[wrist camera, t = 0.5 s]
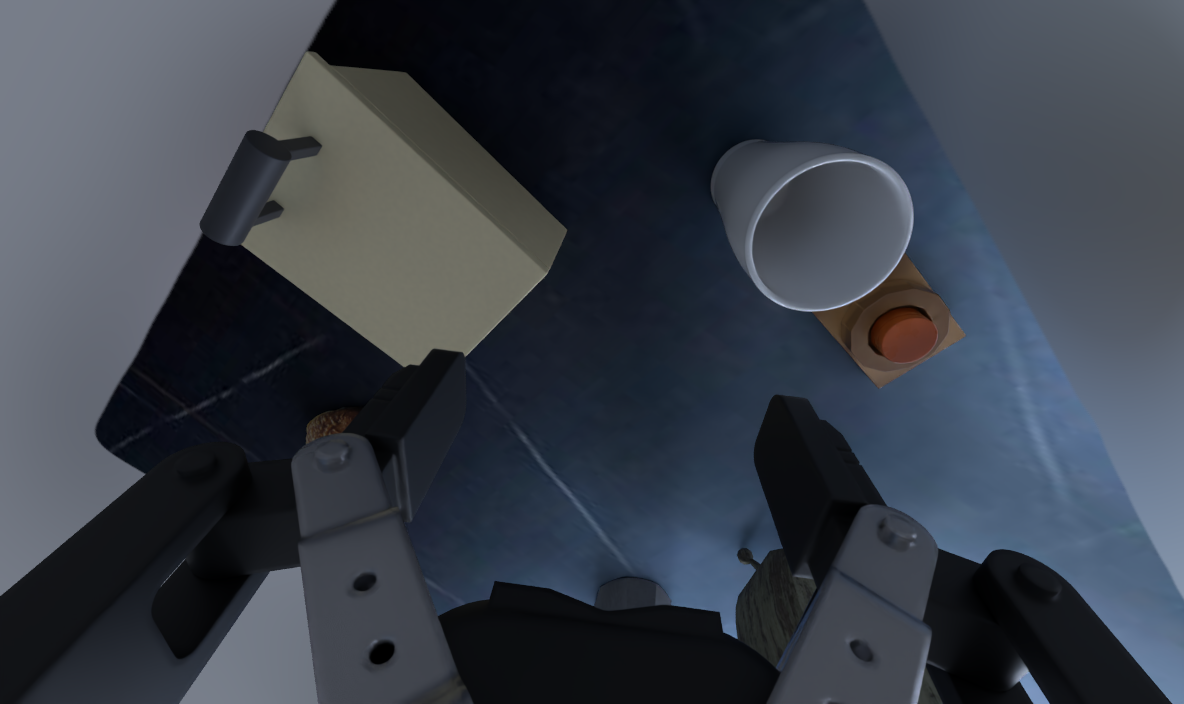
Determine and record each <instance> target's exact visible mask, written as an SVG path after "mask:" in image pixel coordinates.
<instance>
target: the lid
mask: <svg viewBox="0 0 1184 704" xmlns="http://www.w3.org/2000/svg"><path fill="white" fill-rule="evenodd" d="M200 228H201V230H202V232H203V233H204V234H205V235H206V236H207V237H209V238H210V239H212V240H214V241H216V242H218V243H221V244H224V245H229V246H237V245H240V244H241V245H243V246H244V247H245V248H247V249H248V250H249V251H251V252H252V253H253V254H255V255H256V256H257V257H259V258H260V259H261V260H262V261H264V262H265V263H266V264H268V265H269V266H270V267H272V268H273V269H274V270H276V271H277V272H278V273H280V274H281V275H282V276H284V277H285V278H286V279H288V280H289V281H290V282H292V283H293V284H294V285H296V286H297V287H298V288H300V289H301V290H302V291H304V292H305V293H306V294H308V295H309V296H310V297H312V298H313V299H314V300H316V301H317V302H318V303H320V304H321V305H322V306H324V307H325V308H326V309H328V310H329V311H330V312H332V313H333V314H334V315H336V316H337V317H338V318H340V319H341V320H342V321H344V322H345V323H346V324H348V325H349V326H350V327H352V328H353V329H354V330H356V331H357V332H358V333H360V334H361V335H362V336H364V337H365V338H366V339H368V340H369V341H370V342H372V343H373V344H374V345H376V346H377V347H378V348H380V349H381V350H382V351H384V352H385V353H386V354H388V355H389V356H390V357H392V358H393V359H394V360H396V361H397V362H398V363H400V364H401V365H402V366H404V367H406V366H408V365H410V364H412V365H420V364H421V362H422V361H423V360H424V359H425V357H426V356H427V355H428V354H429V352H430V351H431V350H432V349H434V348H436V349H443V350H451V351H458V352H463V353H464V356H465V357H466V356H467V355H468V354H469V353H470V352H471V351H472V350H473V349H474V348H475V347H476V346H477V345H478V344H479V342H480V341H481V340H482V339H483V338H484V337H485V336H486V335H487V334H488V333H489V332H490V331H491V330H492V329H493V328H494V327H495V326H496V325H497V324H498V323H499V322H500V321H501V320H502V319H503V318H504V317H505V316H506V315H507V314H508V313H509V312H510V311H511V310H512V309H513V308H514V307H515V306H516V305H517V304H518V303H519V302H520V301H521V300H522V299H523V298H524V297H525V296H526V295H527V294H528V293H529V292H530V291H531V290H532V289H533V288H534V287H535V286H536V285H537V284H538V283H539V282H540V281H541V280H542V279H543V278H544V277H545V276H546V275H547V273H548V271H549V269H548V268H547V267H546V266H545V265H544V264H543V263H542V262H541V261H540V260H539V259H538V258H537V257H536V256H534V255H533V254H532V253H531V252H530V251H529V250H528V249H527V248H526V247H525V246H524V245H523V244H522V243H520V242H519V241H518V240H517V239H516V238H515V237H514V236H513V235H512V234H511V233H510V232H509V231H508V230H506V229H505V228H504V227H503V226H502V225H501V224H500V223H499V222H498V221H497V220H496V219H495V218H494V217H492V216H491V215H490V214H489V213H488V212H487V211H486V210H485V209H484V208H483V207H482V206H481V205H480V204H478V203H477V202H476V201H475V200H474V199H473V198H472V197H471V196H470V195H469V194H468V193H467V192H466V191H464V190H463V189H462V188H461V187H460V186H459V185H458V184H457V183H456V182H455V181H454V180H453V179H452V178H450V177H449V176H448V175H447V174H446V173H445V172H444V171H443V170H442V169H441V168H440V167H439V166H438V165H436V164H435V163H434V162H433V161H432V160H431V159H430V158H429V157H428V156H427V155H426V154H425V153H424V152H422V151H421V150H420V149H419V148H418V147H417V146H416V145H415V144H414V143H413V142H412V141H411V140H410V139H408V138H407V137H406V136H405V135H404V134H403V133H402V132H401V131H400V130H399V129H398V128H397V127H396V126H394V125H393V124H392V123H391V122H390V121H389V120H388V119H387V118H386V117H385V116H384V115H383V114H382V113H380V112H379V111H378V110H377V109H376V108H375V107H374V106H373V105H372V104H371V103H370V102H369V101H368V100H366V99H365V98H364V97H363V96H362V95H361V94H360V93H359V92H358V91H357V90H356V89H355V88H354V87H352V86H351V85H350V84H349V83H348V82H347V81H346V80H345V79H344V78H343V77H342V76H341V75H340V74H338V73H337V72H336V71H335V70H334V69H333V68H332V67H331V66H330V65H329V64H328V63H327V62H326V61H324V60H323V59H322V58H321V57H320V56H319V55H318V54H317V53H315V52H309V51H307V52H306V53H305V54H304V56H303V58H302V60H301V62H300V64H299V66H298V68H297V69H296V71H295V73H294V75H293V77H292V79H291V81H290V83H289V84H288V86H287V88H286V90H285V92H284V94H283V96H282V98H281V100H280V101H279V103H278V105H277V107H276V109H275V111H274V113H273V115H272V116H271V118H270V120H269V122H268V124H267V126H266V128H265V130H264V131H263V132H260V131H256V130H250V131H248V132H247V133H246V134H245V136H244V138H243V140H242V142H241V144H240V146H239V147H238V150H237V152H236V153H235V155H234V157H233V159H232V161H231V163H230V165H229V167H228V170H227V171H226V173H225V175H224V177H223V179H222V181H221V183H220V184H219V186H218V188H217V190H216V192H215V194H214V196H213V198H212V200H211V202H210V204H209V206H208V208H207V210H206V212H205V214H204V216H203V218H202V220H201V221H200Z"/></svg>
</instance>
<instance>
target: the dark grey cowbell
mask: <svg viewBox="0 0 1184 704" xmlns="http://www.w3.org/2000/svg"><path fill="white" fill-rule="evenodd" d="M737 556H738V559H739V561H740V562H741V563H743V564H751V565H752V566H753V567H754V568H755V569H756V572H755V573H754V574H753V576H752V577H751V579H750V580H749V582H748V583H747V584H746V586H745V587H744V589H743V590H742V591H741V593H740V594H739V596H738V600H737V604H736V629H737V637H738V640H740V641H742V642H743V643H745V644H746V645H748V646H749V647H751V648H752V649H754V650H755V651H757V652H758V653H759V654H761V655H762V656H763V657H764V658H766V659H767V660H768V661H769V662H770V663H771V664H772V665H773V666H774V667H775V668H776V666H777V664H778V663H779V661H780V659H781V657H782V655H783V653H784V651H785V649H786V647H787V645H788V643H789V641H790V639H791V637H792V635H793V633H794V631H795V629H796V627H797V625H798V623H799V621H800V619H801V617H802V615H803V613H804V611H805V609H806V607H807V605H808V603H809V601H810V599H811V597H812V595H813V593H814V591H815V590H816V588H817V587H816V585H815V582H814V579H808V578H801V577H793V576H792V573H791V570H790V568H789V565H788V562H787V559H786V556H785V553H784V550H783V549H778V550H773V551H770V552H769V553H768V555H767V556H766V557H765V559H764V560H763V562H762V563H761V564H759V563H758V562H756V561H755V560H753V555H752V552H751V551H750V550H748V549H747V548H741V549H740V550H739V551H738V554H737ZM917 704H943V703H942V701H941V698H940V696H939V694H938V692H937V690H936V688H935V686H934V683H933V681H932V679H931V677H930V675H929V673H928V670H927V668H926V666H925V670H924V674H923V679H922V684H921V689H920V693H919V698H918V703H917Z"/></svg>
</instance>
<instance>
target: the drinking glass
mask: <svg viewBox="0 0 1184 704" xmlns="http://www.w3.org/2000/svg"><path fill="white" fill-rule="evenodd" d="M711 194H712V198H713V201H714V203H715V205H716V207H717V208H718V210H719V213H720V216H721V219H722V222H723V226H724V229H725V232H726V235H727V238H728V241H729V244H730V246H731V249H732V251H733V253H734V255H735V257H736V259H737V260H738V262H739V263H740V265H741V267H742V268H743V270H744V271H745V272H746V274H747V275H748V276H749V278H750V279H751V280H752V281H753V282H754V284H755V285H756V286H757V287H758V289H759V290H760V291H761V292H762V293H763V294H764V295H765V296H767V297H768V298H769V299H770V300H772V301H774V302H775V303H777V304H779V305H781V306H784V307H787V308H790V309H794V310H799V311H809V312H813V311H825V310H831V309H835V308H838V307H842V306H844V305H847V304H850V303H852V302H854V301H856V300H858V299H860V298H862V297H863V296H865V295H866V294H868V293H869V292H871V291H872V290H874V289H875V288H876V287H877V286H879V285H880V284H881V283H882V282H883V281H884V280H885V279H886V278H887V277H888V276H889V275H890V274H891V272H892V271H893V270H894V269H895V267H896V266H897V264H898V263H899V261H900V260H901V258H902V256H903V255H904V252H905V250H906V248H907V246H908V243H909V240H910V237H911V233H912V228H913V218H914V214H913V204H912V199H911V196H910V193H909V190H908V188H907V186H906V184H905V183H904V181H903V180H902V178H901V177H900V176H899V175H898V173H897V172H896V171H894V170H893V169H892V168H891V167H890V166H888V165H887V164H886V163H884V162H882V161H880V160H878V159H876V158H873V157H871V156H868V155H866V154H863V153H861V152H858V151H855V150H852V149H849V148H846V147H842V146H838V145H834V144H828V143H822V142H807V141H789V142H771V141H767V140H762V139H753V140H747V141H744V142H741V143H739V144H737V145H735V146H733V147H732V148H731V149H729V150H728V151H727V152H726V153H725V154H724V155H723V156H722V157H721V158H720V160H719V161H718V163H717V165H716V166H715V169H714V171H713V174H712V178H711Z"/></svg>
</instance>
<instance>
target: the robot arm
mask: <svg viewBox="0 0 1184 704" xmlns="http://www.w3.org/2000/svg"><path fill="white" fill-rule="evenodd" d="M465 410H466V371H465V356H464V353H463V352H458V351H451V350H443V349H436V348H434V349H432V350H431V351H430V352H429V354H428V355H427V356H426V357H425V359H424V360H423V361H422V362H421V364H420V365H412V364H410V365H408V366H406V367H404V368H402V369H401V370H399V371H397V372H395V373H393V374H392V375H391V376H390V378H389V379H388V380H387V381H386V382H385V383H384V385H383V386H382V389H381V388H380V389H379V390H378V391H377V393H376V394H375V395H374V397H373V399H371V400H370V401H369V402H368V403H367V404H366V405H365V406H364V408H363V409H362V410H361V411H360V412H359V413H358V415H357V416H356V417H355V418H354V419H353V420H352V421H351V423H350V424H349V425H348V426H347V427H346V428H345V430H344V431H343V432H342V433H337V434H331V435H326V436H323V437H320V438H318V439H315V440H313V441H311V442H309V443H308V444H306V445H305V446H303V447H302V448H301V449H300V450H299V451H298V452H297V453H296V454H295V456H294V457H293V458H292V459H283V460H272V461H262V462H251V463H248V462H247V459H246V456H245V453H244V451H243V449H242V448H241V447H239V446H238V445H236V444H232V443H228V442H210V443H204V444H199V445H195V446H192V447H189V448H186V449H183V450H181V451H179V452H177V453H175V454H172V455H171V456H169V457H167V458H166V459H164V460H163V461H161V462H160V463H159V464H158V465H156V466H155V467H154V468H153V469H152V470H150V471H149V472H148V473H147V474H146V475H144V476H143V477H142V478H141V479H140V480H138V481H137V482H136V483H135V484H134V485H133V486H131V487H130V488H129V489H128V490H127V491H125V492H124V493H123V494H122V495H121V496H120V497H118V498H117V499H116V500H115V501H113V502H112V503H111V504H110V505H109V506H108V507H106V508H105V509H104V510H103V511H102V512H100V513H99V514H98V515H97V516H96V517H95V518H93V519H92V520H91V521H90V522H89V523H87V524H86V525H85V526H84V527H82V528H81V529H80V530H79V531H78V532H76V533H75V534H74V535H73V536H72V537H71V538H69V539H68V540H67V541H66V542H65V543H63V544H62V545H61V546H60V547H59V548H57V549H56V550H55V551H54V552H53V553H51V554H50V555H49V556H48V557H47V558H46V559H44V560H43V561H42V562H41V563H39V564H38V565H37V566H36V567H35V568H34V569H33V570H31V571H30V572H29V573H28V574H26V575H25V576H24V577H23V578H22V579H20V580H19V581H18V582H17V583H16V584H14V585H13V586H12V587H11V588H10V589H8V591H6V592H5V593H4V594H3V595H1V596H0V704H179V703H180V701H181V700H182V698H183V697H184V696H185V694H186V693H187V691H188V690H189V688H190V687H191V685H192V684H193V682H194V681H195V680H196V678H197V677H198V675H199V674H200V672H201V671H202V669H203V668H204V666H205V665H206V664H207V662H208V661H209V659H210V658H211V656H212V655H213V653H214V652H215V651H216V649H217V648H218V646H219V645H220V643H221V642H222V640H223V639H224V637H225V636H226V635H227V633H228V632H229V630H230V629H231V627H232V626H233V624H234V623H235V622H236V620H237V619H238V617H239V616H240V614H241V613H242V611H243V610H244V608H245V607H246V605H247V604H248V602H249V601H250V600H251V598H252V597H253V595H254V594H255V593H256V591H257V590H258V588H259V587H260V585H261V584H262V582H263V581H264V579H265V578H266V577H267V575H268V574H269V572H270V571H275V570H281V569H287V568H294V567H301V572H302V580H303V588H304V596H305V604H306V611H307V620H308V627H309V634H310V642H311V651H312V657H313V666H314V674H315V682H316V690H317V697H318V704H917V703H918V698H919V693H920V689H921V684H922V679H923V674H924V670H925V666H926V668H927V670H928V673H929V675H930V677H931V679H932V681H933V683H934V686H935V688H936V690H937V692H938V694H939V696H940V698H941V701H942V703H943V704H1033V703H1032V701H1031V699H1030V698H1029V696H1028V694H1027V693H1026V691H1025V690H1024V688H1023V686H1022V685H1021V683H1020V680H1021V679H1022V678H1023V677H1024V676H1025V675H1026V674H1027V673H1028V672H1030V674H1031V675H1032V677H1033V678H1034V680H1035V681H1036V683H1037V684H1038V686H1039V688H1040V689H1041V691H1042V692H1043V694H1044V695H1045V697H1046V698H1047V700H1048V701H1049V703H1050V704H1172V703H1171V702H1170V701H1169V699H1168V698H1167V697H1166V696H1165V695H1164V694H1163V692H1162V691H1161V690H1160V689H1159V688H1158V686H1157V685H1156V684H1155V683H1154V682H1153V681H1152V679H1151V678H1150V677H1149V676H1148V675H1147V674H1146V672H1145V671H1144V670H1143V669H1142V668H1141V666H1140V665H1139V664H1138V663H1137V662H1136V661H1135V659H1134V658H1133V657H1132V656H1131V655H1130V653H1129V652H1128V651H1127V650H1126V649H1125V648H1124V646H1123V645H1122V644H1121V643H1120V642H1119V640H1118V639H1117V638H1116V637H1115V636H1114V635H1113V633H1112V632H1111V631H1110V630H1109V629H1108V627H1107V626H1106V625H1105V624H1104V623H1103V622H1102V620H1101V619H1100V618H1099V617H1098V616H1097V615H1096V613H1095V612H1094V611H1093V610H1092V609H1091V607H1090V606H1089V605H1088V604H1087V603H1086V602H1085V600H1084V599H1083V598H1082V597H1081V596H1080V594H1079V593H1078V592H1077V591H1076V590H1075V589H1074V588H1073V587H1072V586H1071V584H1069V583H1068V582H1067V581H1066V580H1065V579H1064V578H1063V577H1062V576H1060V575H1059V574H1058V573H1056V572H1055V571H1054V570H1052V569H1051V568H1049V567H1048V566H1046V565H1044V564H1043V563H1041V562H1039V561H1037V560H1035V559H1033V558H1031V557H1029V556H1027V555H1024V554H1022V553H1019V552H1015V551H1011V550H1004V549H1000V550H995V551H992V552H991V553H990V554H989V555H988V556H987V558H986V559H985V560H984V561H983V563H982V564H979V563H976V562H974V561H971V560H968V559H965V558H963V557H960V556H957V555H955V554H952V553H949V552H946V551H944V550H941V549H939V548H938V547H937V544H936V542H935V540H934V539H933V537H932V536H931V534H930V533H929V532H928V531H927V530H926V529H925V528H924V527H923V526H922V525H921V524H920V523H918V522H917V521H916V520H914V519H913V518H911V517H910V516H908V515H907V514H905V513H903V512H901V511H899V510H897V509H894V508H891V507H888V506H887V505H886V504H885V502H884V500H883V499H882V497H881V496H880V494H879V492H878V491H877V489H876V488H875V486H874V485H873V483H872V481H871V480H870V478H869V477H868V475H867V473H866V472H865V470H864V469H863V467H862V466H861V465H859V461H858V459H857V458H856V456H855V454H854V453H851V448H850V446H849V445H848V443H847V442H846V440H845V438H844V437H843V435H842V434H841V433H840V432H838V431H837V430H836V429H835V428H834V427H833V426H831V425H830V424H829V423H828V422H827V421H826V420H820V419H819V418H818V416H817V414H816V413H815V411H814V409H813V407H812V406H811V404H810V402H809V401H808V400H807V399H805V398H799V397H791V396H784V395H774V396H773V397H772V399H771V401H770V403H769V406H768V409H767V411H766V414H765V417H764V420H763V422H762V425H761V428H760V431H759V434H758V436H757V439H756V442H755V447H754V463H755V467H756V470H757V473H758V476H759V479H760V482H761V485H762V488H763V491H764V494H765V497H766V500H767V503H768V506H769V509H770V511H771V514H772V517H773V520H774V523H775V526H776V529H777V532H778V535H779V538H780V541H781V544H782V547H783V550H784V553H785V556H786V559H787V562H788V565H789V568H790V570H791V573H792V576H793V577H801V578H808V579H814V582H815V585H816V587H817V588H816V590H815V591H814V593H813V595H812V597H811V599H810V601H809V603H808V605H807V607H806V609H805V611H804V613H803V615H802V617H801V619H800V621H799V623H798V625H797V627H796V629H795V631H794V633H793V635H792V637H791V639H790V641H789V643H788V645H787V647H786V649H785V651H784V653H783V655H782V657H781V659H780V661H779V663H778V664H777V666H776V668H775V667H774V666H773V665H772V664H771V663H770V662H769V661H768V660H767V659H766V658H764V657H763V656H762V655H761V654H759V653H758V652H757V651H755V650H754V649H752V648H751V647H749V646H748V645H746V644H745V643H743V642H742V641H740V640H738V639H736V638H734V637H732V636H730V635H728V634H726V633H723V629H722V623H721V617H720V612H715V611H708V610H701V609H693V608H686V607H679V606H672V605H656V606H647V607H639V608H631V609H623V610H614V611H606V610H602V609H599V608H596V607H594V606H591V605H589V604H586V603H584V602H582V601H579V600H577V599H574V598H572V597H569V596H567V595H564V594H562V593H559V592H557V591H554V590H552V589H549V588H541V587H534V586H527V585H520V584H512V583H505V582H498V581H495V582H494V586H493V589H492V593H491V596H490V599H489V600H481V601H477V602H472V603H468V604H465V605H462V606H459V607H457V608H454V609H452V610H450V611H448V612H446V613H444V614H442V615H440V616H438V615H437V613H436V610H435V607H434V604H433V602H432V599H431V596H430V593H429V590H428V588H427V585H426V582H425V579H424V576H423V574H422V571H421V568H420V565H419V563H418V560H417V557H416V554H415V551H414V549H413V546H412V543H411V540H410V537H409V535H408V532H407V529H406V526H405V524H404V522H411V521H412V519H413V517H414V516H415V514H416V512H417V510H418V508H419V506H420V504H421V502H422V500H423V498H424V496H425V494H426V492H427V490H428V489H429V487H430V485H431V483H432V481H433V479H434V477H435V475H436V473H437V471H438V469H439V467H440V465H441V464H442V462H443V460H444V458H445V456H446V454H447V452H448V450H449V448H450V446H451V444H452V442H453V440H454V438H455V437H456V435H457V433H458V431H459V429H460V427H461V425H462V422H463V419H464V415H465ZM184 559H185V560H184ZM183 560H184V561H183ZM182 561H183V562H182ZM181 562H182V564H181V565H180V563H181ZM179 565H180V566H179ZM178 566H179V567H178ZM177 567H178V568H177ZM176 568H177V569H176ZM175 569H176V570H175ZM174 570H175V572H174V573H173V574H172V572H173V571H174ZM171 574H172V575H171ZM170 575H171V576H170ZM169 576H170V577H169ZM168 577H169V578H168ZM167 578H168V580H166V579H167ZM165 580H166V582H165V583H164V581H165ZM163 583H164V584H163ZM162 584H163V585H162ZM161 585H162V586H161Z"/></svg>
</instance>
